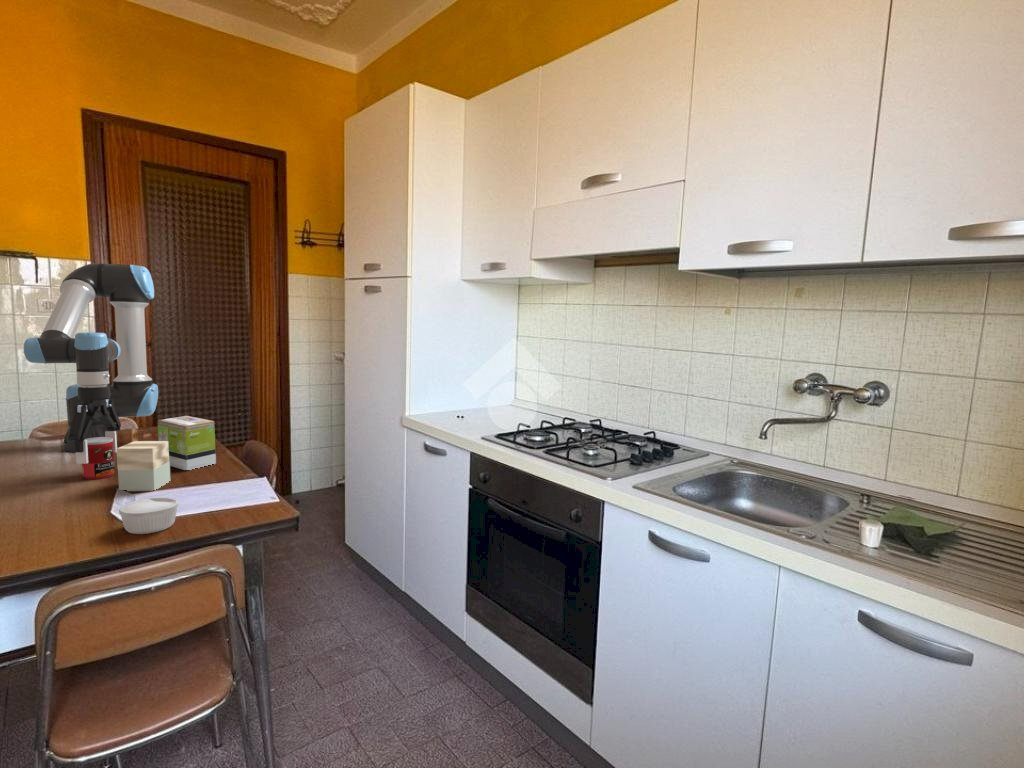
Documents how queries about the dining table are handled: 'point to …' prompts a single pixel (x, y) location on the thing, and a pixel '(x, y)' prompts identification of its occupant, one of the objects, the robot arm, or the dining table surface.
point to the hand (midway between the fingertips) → (97, 457)
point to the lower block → (144, 478)
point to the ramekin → (149, 515)
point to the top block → (142, 455)
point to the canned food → (99, 458)
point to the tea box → (188, 441)
